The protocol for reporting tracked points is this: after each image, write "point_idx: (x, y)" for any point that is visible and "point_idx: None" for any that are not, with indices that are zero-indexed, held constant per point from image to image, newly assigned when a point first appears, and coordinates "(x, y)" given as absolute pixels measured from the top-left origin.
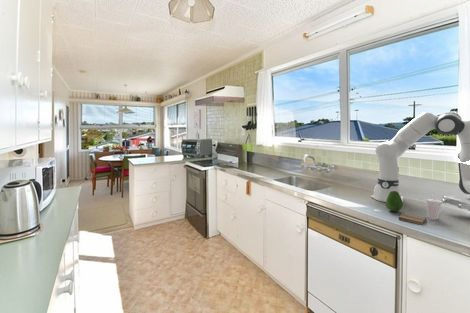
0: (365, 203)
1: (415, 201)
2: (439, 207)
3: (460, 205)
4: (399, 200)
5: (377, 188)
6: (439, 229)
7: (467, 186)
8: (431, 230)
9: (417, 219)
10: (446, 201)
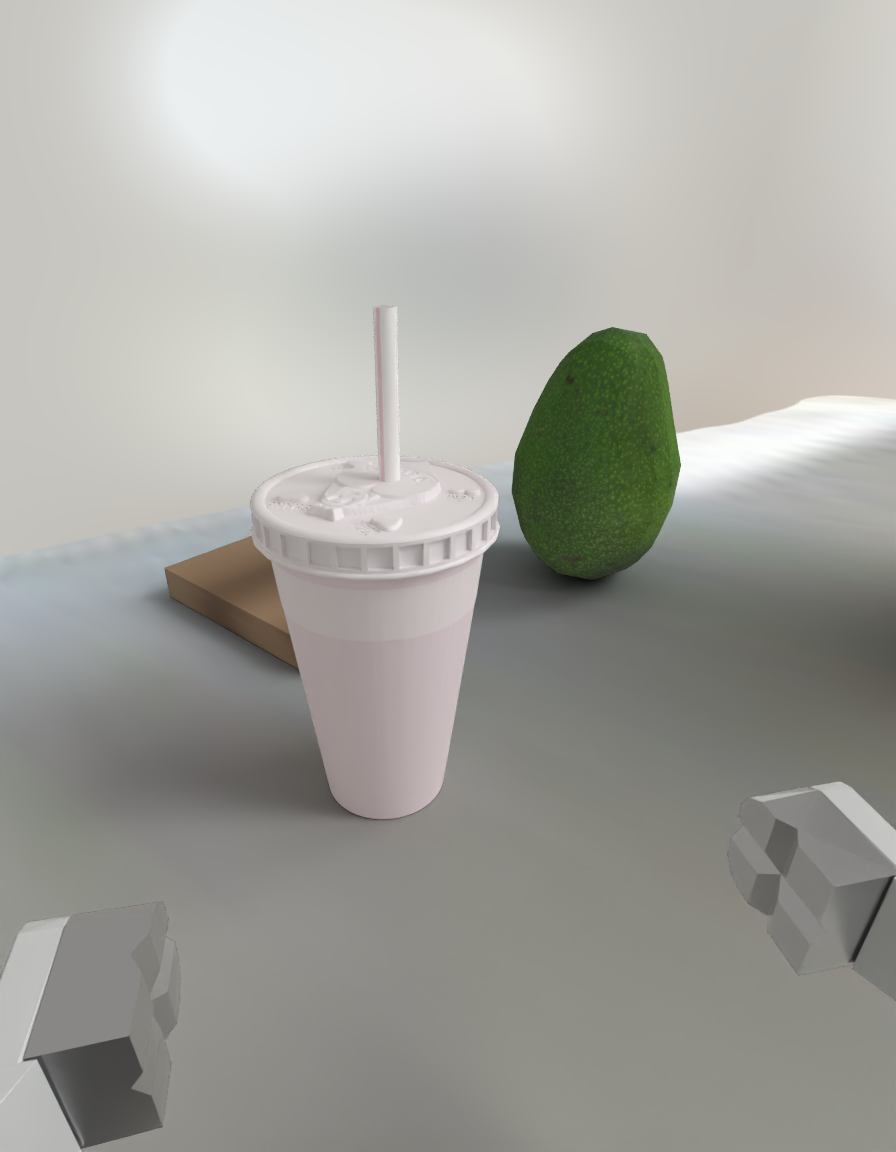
0: (776, 506)
1: None
2: (289, 619)
3: (72, 917)
4: (535, 434)
5: None
6: (11, 650)
7: None
8: (29, 596)
9: (243, 566)
10: (818, 924)
